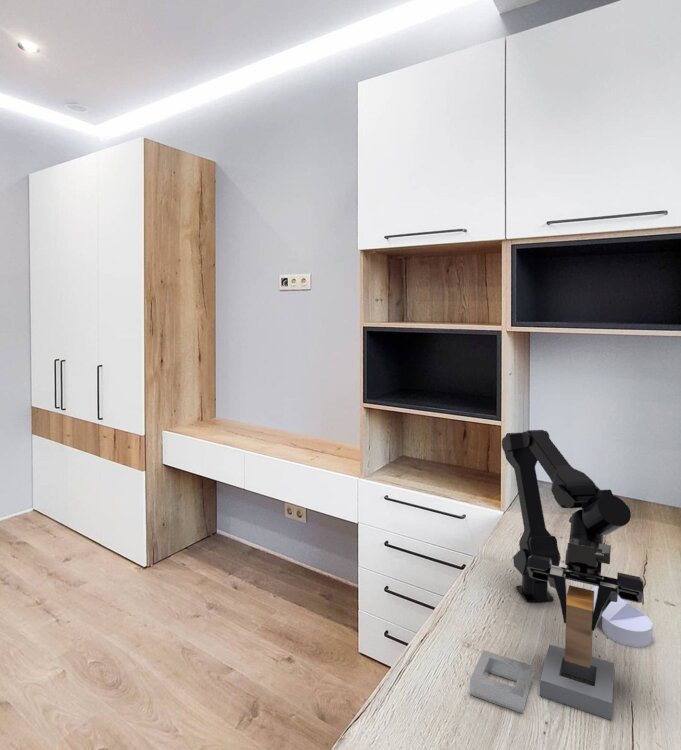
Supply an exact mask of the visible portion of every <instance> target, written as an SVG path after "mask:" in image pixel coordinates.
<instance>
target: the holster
mask: <svg viewBox="0 0 681 750" xmlns="http://www.w3.org/2000/svg"><path fill="white" fill-rule="evenodd" d="M489 674H492V675H496V676H499V677H501V678H505V679H508V680H510V681H513V682H515V686H511V685H509V684H506V683H504V682H500V681H497V680H494V679H492V678H488V677H489ZM469 679H470V680H469V696H473V697H476V698H479V699H481V700H484V701H486V702H490V703H492V704H495V705H497V706H500V707H502V708H506V709H508V710H511V711H514V712H517V713H519V714H523V713H524V710H525V706H526V703H527V699H528V695H529V693H530V689H531V685H532V682H533V664H530V663H526V662H522V661H520V660H516V659H513V658H510V657H507V656H503V655H501V654H497V653H494V652H490V651H488V650H486V649H485V650H484V649H483V650H482V652H481V654H480V657H479V658H478V661H477V663H476V665H475V668H474V670H473V672H472V674H471V676H470V678H469Z"/></svg>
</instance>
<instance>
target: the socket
mask: <svg viewBox="0 0 681 750" xmlns="http://www.w3.org/2000/svg"><path fill="white" fill-rule="evenodd" d="M563 674H568V675H570V676H574V677H576V678H577V677H578V678H580V679H582V680H583V679H584V680H587V681H590V682H594V685H590V684H588V683H585V682H580V681H578V680H576V679H575V680H574V679H572V678H569V677H565V676H563ZM614 679H615V662H612V661H609V660H605V659H601V658H599V657H595V656H592V657H591V665H590V668H588V667H585V666H581V665H578V664H575V663H571V662H568V661H565V647H563V648H562V647H560V646H556V645H553V644H548V649H547V652H546V656H545V661H544V664H543V668H542V673H541V676H540V680H539V696H540V697H542V698H545V699H548V700H551V701H554V702H557V703H560V704H563V705H565V706H569V707H572V708H575V709H577V710H581V711H583V712H586V713H588V714H592V715H595V716H598V717H602V718H604V719H607V720H610V721H612V718H613V705H614V704H613V702H614V681H615V680H614Z"/></svg>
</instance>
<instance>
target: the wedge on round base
mask: <svg viewBox="0 0 681 750" xmlns="http://www.w3.org/2000/svg"><path fill="white" fill-rule="evenodd" d="M598 587H599V586H595V585H593V587H592V588H591V589H590V590H592V591H594V608H595V603H596V599H597V593H598ZM594 608H593V610H594ZM601 619H602V620H601V624H602V625H601V629H602V631H603V633H604V634H605V635H606V637H608V638H609V639H610V640H612V641H615V642H616V643H618V644H621V645H624V646H627V647H632V648H633V647H634V648H645V647H648V646H649V645H651V644H652V642H653V628H654V627H653V625H654V623H653V622H652V620H651V618H649V616H647V615H646V614H645V613H643V612H642V611H640V610H639V609H638V608H636V607H635V606H633V605H632V604H631V603H629V602H627V600H624V599H621V598H620V597H619V596H618V599H617V602H610V604H609V605H608V606H607V608H606V609H605V611H604V612H603V614H602V616H601Z"/></svg>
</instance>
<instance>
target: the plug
mask: <svg viewBox="0 0 681 750" xmlns="http://www.w3.org/2000/svg"><path fill="white" fill-rule="evenodd" d="M593 608H594V591H592V590H591V589H588V588H584V587H579V586H575V585H570V584H569V585H568V589H567V599H566V624H565V636H564V638H565V640H564V643H565V644H564V649H565V661H568V662H571V663H575V664H578V665H581V666H585V667H588V668H590V665H591V657H593V654H592V653H593V632H594V631H592V618H593V613H594V609H593Z"/></svg>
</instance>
